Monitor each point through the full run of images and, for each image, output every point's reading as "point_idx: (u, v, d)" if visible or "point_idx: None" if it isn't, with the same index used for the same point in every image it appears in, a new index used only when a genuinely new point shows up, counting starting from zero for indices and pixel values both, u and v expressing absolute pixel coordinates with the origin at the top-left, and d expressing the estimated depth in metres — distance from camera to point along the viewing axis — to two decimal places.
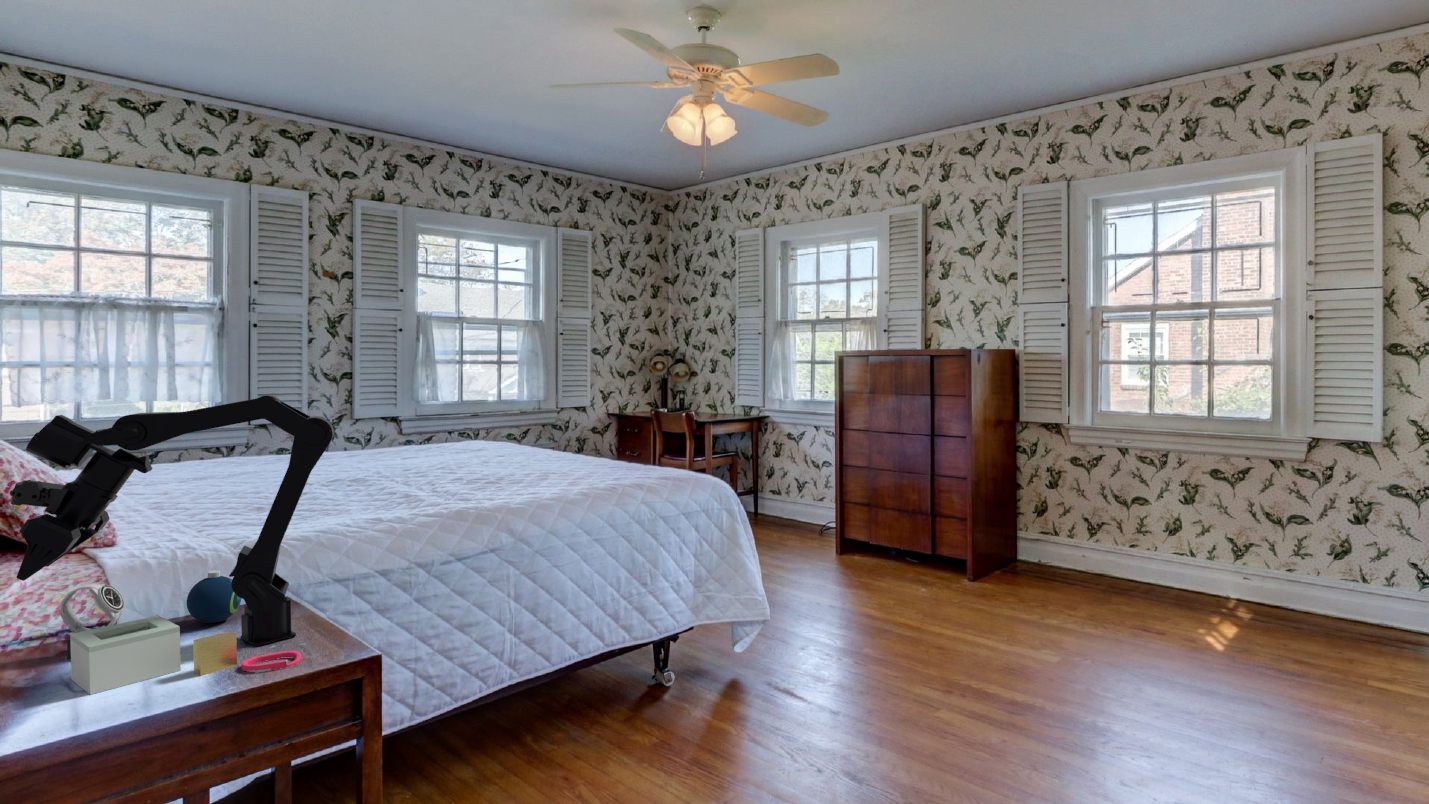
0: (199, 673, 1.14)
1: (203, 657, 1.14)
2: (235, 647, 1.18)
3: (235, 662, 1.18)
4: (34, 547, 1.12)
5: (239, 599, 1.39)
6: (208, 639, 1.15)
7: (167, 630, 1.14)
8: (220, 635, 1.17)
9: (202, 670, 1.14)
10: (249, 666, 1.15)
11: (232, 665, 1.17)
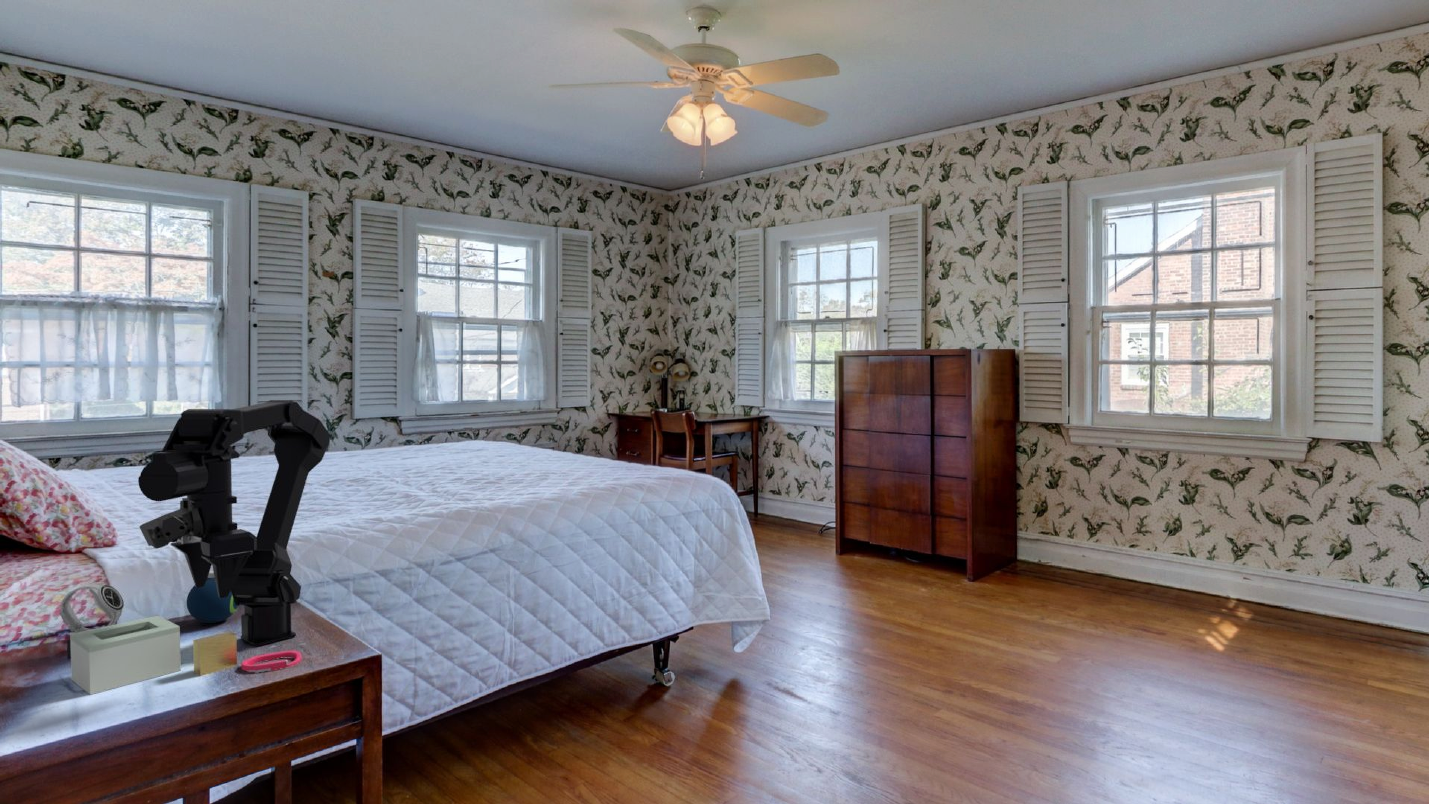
0: (199, 673, 1.14)
1: (203, 657, 1.14)
2: (235, 647, 1.18)
3: (235, 662, 1.18)
4: (220, 565, 1.12)
5: None
6: (208, 639, 1.15)
7: (167, 630, 1.14)
8: (220, 635, 1.17)
9: (202, 670, 1.14)
10: (249, 666, 1.15)
11: (232, 665, 1.17)
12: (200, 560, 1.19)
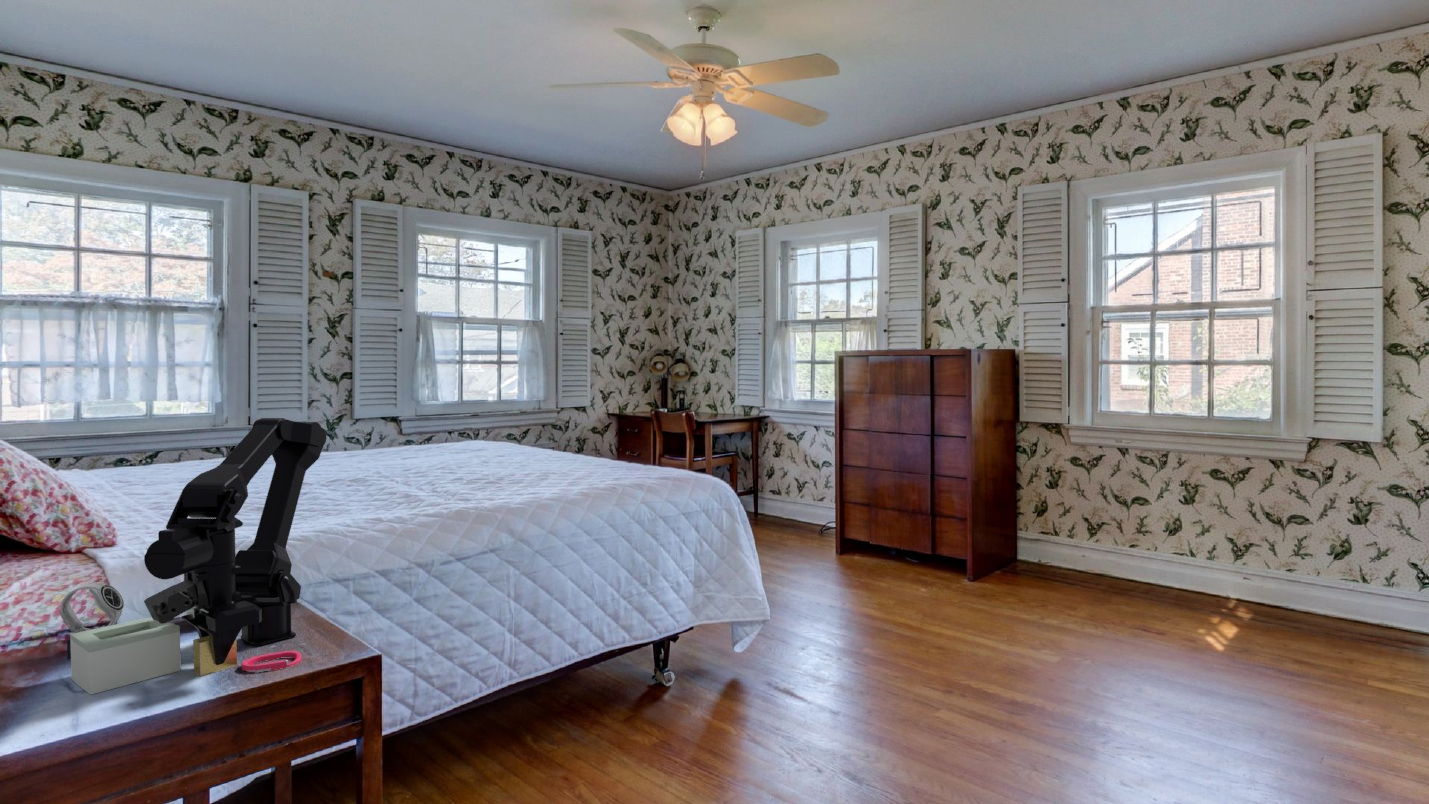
0: (199, 673, 1.14)
1: (203, 657, 1.14)
2: (235, 647, 1.18)
3: (235, 661, 1.18)
4: (217, 633, 1.14)
5: None
6: (208, 639, 1.15)
7: (167, 630, 1.14)
8: None
9: (202, 670, 1.14)
10: (249, 666, 1.15)
11: (232, 665, 1.17)
12: None
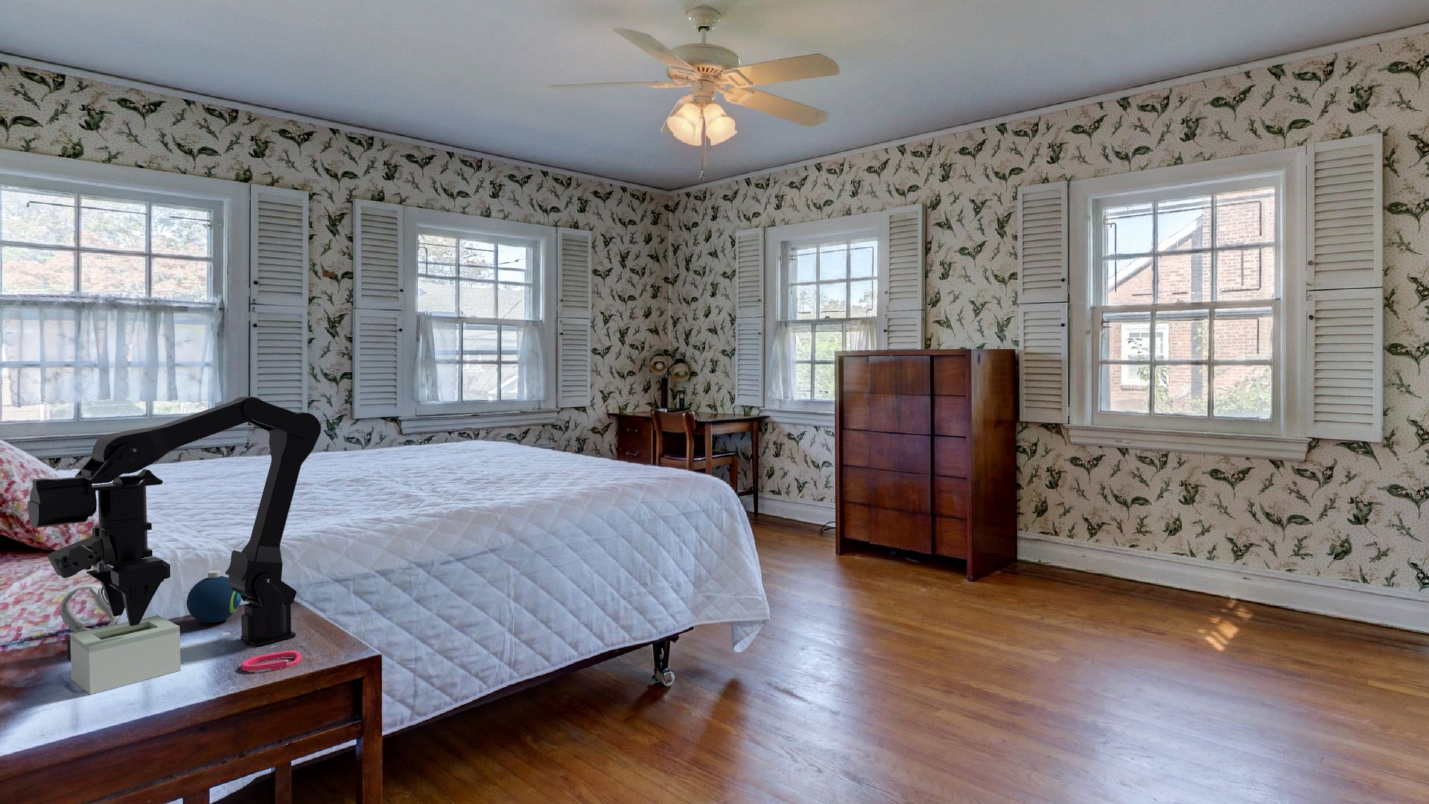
0: None
1: None
2: None
3: None
4: (130, 592, 1.10)
5: (239, 599, 1.39)
6: None
7: (167, 630, 1.14)
8: None
9: None
10: (249, 666, 1.15)
11: None
12: None
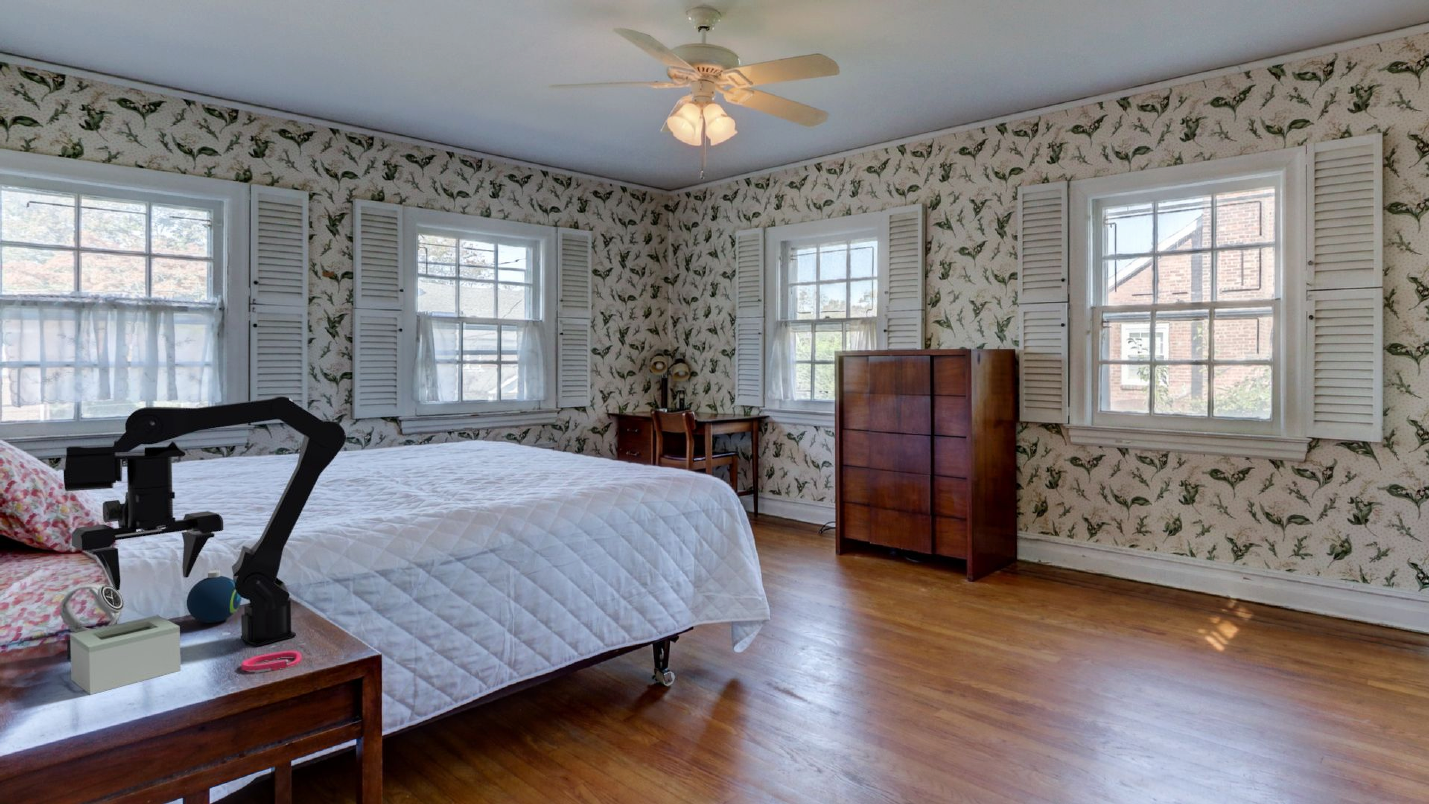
0: None
1: None
2: None
3: None
4: (102, 557, 1.16)
5: (239, 599, 1.39)
6: None
7: (167, 630, 1.14)
8: None
9: None
10: (249, 666, 1.15)
11: None
12: (186, 552, 1.24)
